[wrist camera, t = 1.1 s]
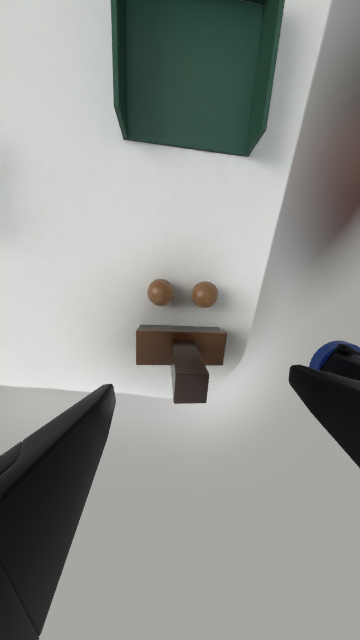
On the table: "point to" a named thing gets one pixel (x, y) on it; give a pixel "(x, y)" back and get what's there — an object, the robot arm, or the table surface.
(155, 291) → the brown egg
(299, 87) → the table surface
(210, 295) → the brown ball
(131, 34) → the dustpan
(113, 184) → the table surface
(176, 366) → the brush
